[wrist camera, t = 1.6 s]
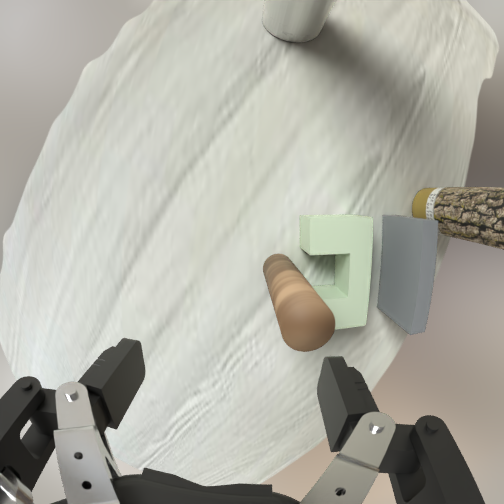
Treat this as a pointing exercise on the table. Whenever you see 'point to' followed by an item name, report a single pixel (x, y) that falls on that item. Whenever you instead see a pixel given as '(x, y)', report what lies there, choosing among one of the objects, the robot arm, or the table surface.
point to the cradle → (342, 262)
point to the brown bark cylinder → (464, 212)
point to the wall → (407, 270)
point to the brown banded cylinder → (297, 306)
